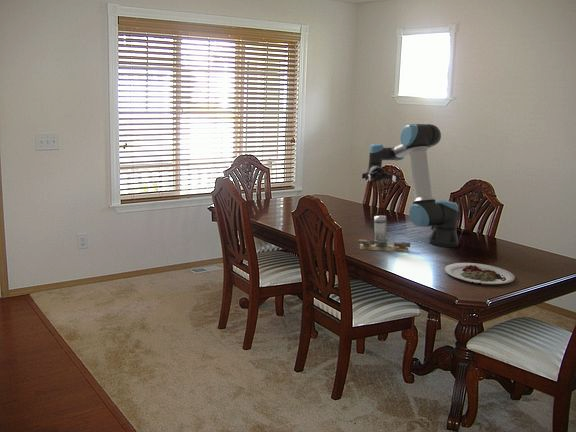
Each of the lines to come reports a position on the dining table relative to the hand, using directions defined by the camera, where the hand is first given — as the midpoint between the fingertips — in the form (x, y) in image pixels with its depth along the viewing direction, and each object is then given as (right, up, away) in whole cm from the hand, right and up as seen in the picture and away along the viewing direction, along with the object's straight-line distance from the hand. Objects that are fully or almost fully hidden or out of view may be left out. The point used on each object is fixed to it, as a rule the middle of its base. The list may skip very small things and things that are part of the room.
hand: (382, 179), depth 331 cm
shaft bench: (-2, -36, -18) cm, 41 cm away
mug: (+40, -28, +32) cm, 59 cm away
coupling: (-4, -35, -17) cm, 39 cm away
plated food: (+34, -47, -56) cm, 81 cm away
